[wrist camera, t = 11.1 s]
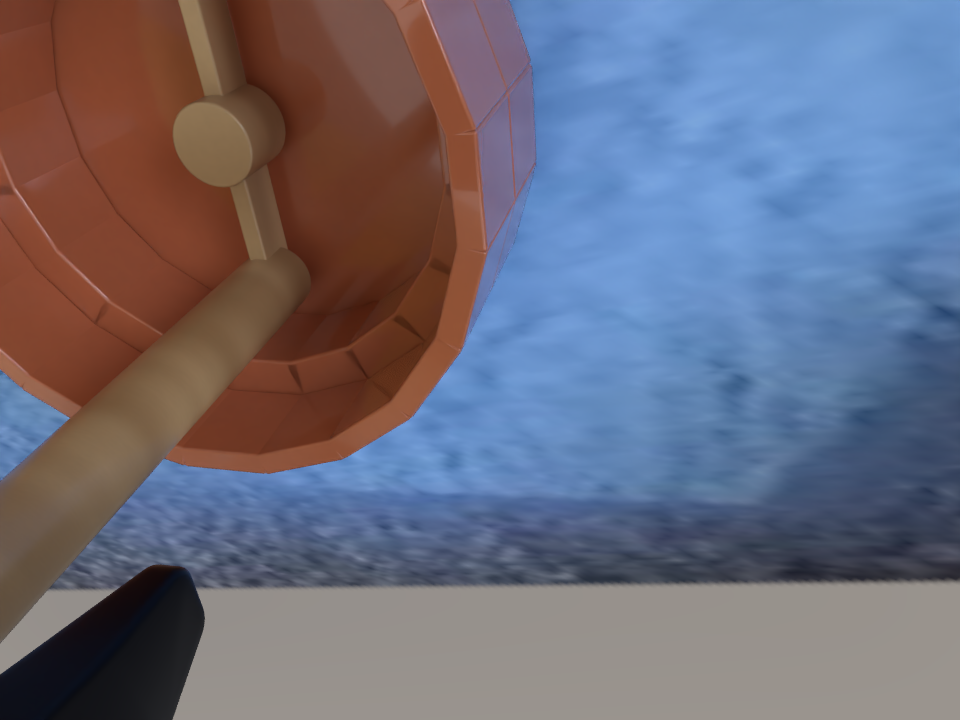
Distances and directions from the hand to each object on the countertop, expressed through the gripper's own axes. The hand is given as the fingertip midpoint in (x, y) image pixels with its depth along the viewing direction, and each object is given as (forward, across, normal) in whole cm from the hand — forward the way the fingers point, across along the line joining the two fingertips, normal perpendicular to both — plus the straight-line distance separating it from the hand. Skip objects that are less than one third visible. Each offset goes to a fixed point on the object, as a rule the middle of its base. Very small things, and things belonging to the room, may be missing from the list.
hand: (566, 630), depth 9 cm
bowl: (+14, +9, -2) cm, 16 cm away
